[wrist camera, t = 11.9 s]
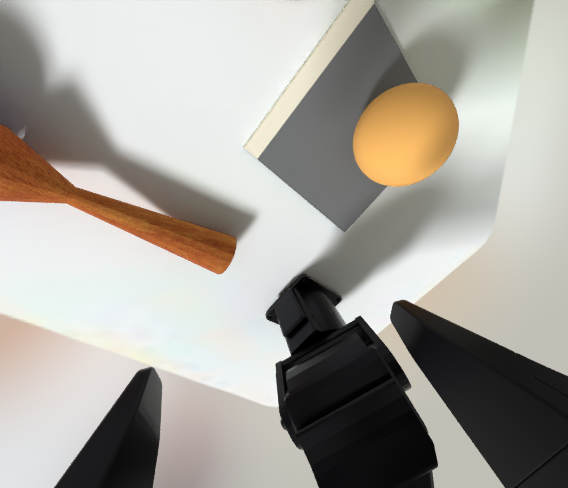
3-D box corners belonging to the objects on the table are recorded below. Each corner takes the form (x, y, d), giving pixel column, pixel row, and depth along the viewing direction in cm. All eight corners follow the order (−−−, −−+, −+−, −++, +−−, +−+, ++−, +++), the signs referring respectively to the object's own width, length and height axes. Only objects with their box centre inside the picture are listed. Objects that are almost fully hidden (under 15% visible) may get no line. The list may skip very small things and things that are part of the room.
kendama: (207, 305, 19) (-359, 166, 8) (208, 254, 23) (-153, 120, 12) (249, 255, 16) (-488, -46, 5) (242, 209, 21) (-171, -8, 10)
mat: (243, 147, 17) (244, 147, 17) (359, -14, 15) (363, -18, 14) (342, 230, 23) (345, 232, 23) (438, 126, 21) (442, 127, 20)
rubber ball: (384, 158, 22) (458, 96, 17) (401, 214, 19) (498, 158, 14) (330, 124, 19) (401, 38, 14) (339, 184, 16) (433, 99, 11)
